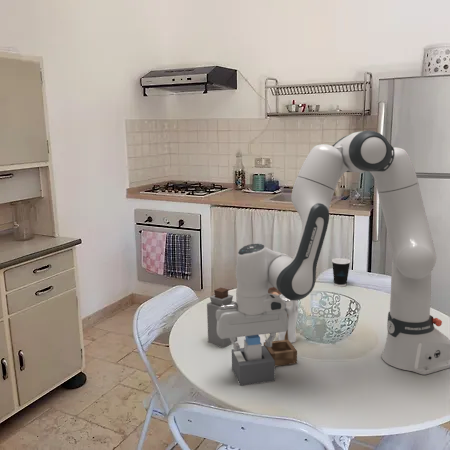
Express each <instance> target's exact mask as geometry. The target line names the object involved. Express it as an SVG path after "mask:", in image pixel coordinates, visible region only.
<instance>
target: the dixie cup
mask: <svg viewBox="0 0 450 450" xmlns="http://www.w3.org/2000/svg"><path fill="white" fill-rule="evenodd" d="M331 263H332V273H333V283H334V286H335V287H337V288H344V287H346V286H347V284H348V277H349V273H350V272H349V271H350V263H352V262H351V260H350V259H348V258H342V257H341V258H339V257H335V258H332V259H331Z"/></svg>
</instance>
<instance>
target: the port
mask: <svg viewBox="0 0 450 450" xmlns="http://www.w3.org/2000/svg"><path fill="white" fill-rule="evenodd" d="M239 349H240V351H234V349H233V348H232V349H231V369H232V371H233V373H234V376H235V378H236V380H237V382H238V384H239V386H248V385H256V384H262V383H263V384H264V383H269V382H270V383H271V382H275V381H276V366H275V361H274V359H273V358H272V356H271V355H270V353H269V352H268V350H267V349H266V347H265V345H264V344H263V345H262V359H257V360H249V361H245V359H244V347H241V348H239Z"/></svg>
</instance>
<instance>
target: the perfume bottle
mask: <svg viewBox="0 0 450 450" xmlns="http://www.w3.org/2000/svg"><path fill="white" fill-rule="evenodd" d="M213 290H214V291H213V293H214V295H211V296H209V299H210V302H208V303H206V311H207V312H206V314H207V315H206V316H207V321H206V322H207V343H208V344H211V345H214V346H217V347H219V348H223V349H226V348H227V347H229V346H230V345H233V344H232V342H231V340H230V339H229V338H226V339H221V338H220V337H219V336H218V334H217V319H216V310H217V309H218V308H219V307H221V306H222V305H231V304H236V301H233V299H234V298H233V297H234V295H233V294H229V288H224V287H218V288H216V289H213ZM220 309H221V308H220ZM237 341H238V337H236V340H235V341H234V342H235V343H236V342H237Z"/></svg>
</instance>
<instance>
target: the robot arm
mask: <svg viewBox="0 0 450 450" xmlns="http://www.w3.org/2000/svg"><path fill="white" fill-rule="evenodd" d="M365 172H369V173H370V174H371V176H373V179H374V181H375V185H376V190H377V194H378V199H379V201H380V202H379V203H380V206H381V211H382V214H383V218H384V223H385V229H386V233H387V237H388V242H389V246H390V250H391V255H392V256H391V257H392V258H391V277H390V278H391V281H390V282H391V283H390V302H389V311H388V314H387V322H386V323H387V327H386V328H387V335H386V341H385V344H384V347H383V351H382V353H381V358H382V360H383V361H384V363H386V364H388V365H390V366H392V367H393V368H397V369H399V370H404V371H410V372H414V373H417V374H420V375H428V374H432V373H436V372H439V371H442V370H446V369H450V339H449V337H448V336H447V335H445V334H444V333H442V332H441V331H440V330H439V329H437V328H436V327H441V326H442V325H443V321H442V319H439V318H438V317H434V316H432V315H431V302H432V271H433V270H434V268H435V267H436V263H437V262H436V261H437V254H436V248H435V244H434V241H433V237H432V233H431V229H430V225H429V221H428V218H427V217H428V216H427V213H426V210H425V206H424V200H423V198H422V197H423V196H422V192H421V189H420V185H419V181H418V176H417V173H416V170H415V167H414V164H413V162H412V159H411V157H410V155H409V154H408V152H407V151H406V149H404V148H400V147H396V146H395V147H393V146H392V145H391V144H390V143H389V141H388V140H387V138H386V137H385V135H383V134H382V133H380V132H378V131H374V130H363V131H362V130H361V131H355V132H353V133H349V134H348V135H345V136H342V137H341V138H340V139H339V140H337V141H335V143H334V144H332V145H330V144H326V143H323V144H322V143H321V144H317V145H314V146H313V147H312V148H311V149H310V151H309V152H308V154H307V156H306V157H305V159H304V161H303V163H302V164H301V167H300V168H299V172H298V174H297V176H296V179H295V181H294V184H293V187H292V191H291V196H290V199H291V200H290V201H291V203H292V205H293V207H294V209H295V210H296V212H297V213H298V216H299V217H300V220H301V233H300V235H299V239H298V242H297V245H296V248H295V252H294V255H293V256H291V255H289V254H287V253H284V252H281V251H275V250H272V249H270V248H269V247H267V246H265V245H264V244H262V243H250V244H247V245H244V246H242V247H241V248H240V249H239V250H238V252H237V255H236V261H235V263H236V264H235V279H236V282H237V284H236V285H237V287H236V290H235V296H236V299H235V300H236V301H235V302H236V304H231V305H222V306H221V307H219V308H218V309H217V310H216V319H217V334H218V336H219V337H220V338H221V339H226V338H229V339H230V340H231V342H232V344H231V345H233V347H232V349H234V351H240V349H239V348H240V347H241V345H240V344H239V342H236V341H235V340H236V337H237V338H241V337H242V338H243V337H245V336H252V335H259V336H260V335H267V334H268V335H269V336H268V338H267V339H265V341H264V342H266V343H265V345H266V347H272V342H273V341H275V338H277V337H276V336H277V333H278V334H279V332H285V331H286V330H287V329H288V316H287V312H286V311H285V309H284V308H285V303H284V301H283V300H282V299H281V298H280V297H279V296H278V295H275V294H270V293H268V289H269V288H272V287H275V288H276V289H277V290H279V292H280V293H281V294H282V295H283V296H284V297H285V298H287V299H289V300H298V301H299V300H303V299H305V298H306V297H307V296H309V295H310V294H311V293H312V291H313V290H314V288H315V285H316V281H317V280H316V279H317V265H318V261H319V258H320V255H321V251H322V248H323V244H324V241H325V239H326V237H325V236H326V235H327V230H328V225H329V220H330V206H331V204H332V199H333V196H334V194H335V191H336V189H337V187H338V186H337V185H338V183H339V180H340V179H341V178H342V176H343V174H344V173H359V174H360V173H365ZM220 308H221V309H220ZM435 326H436V327H435ZM234 341H235V342H234Z"/></svg>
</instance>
